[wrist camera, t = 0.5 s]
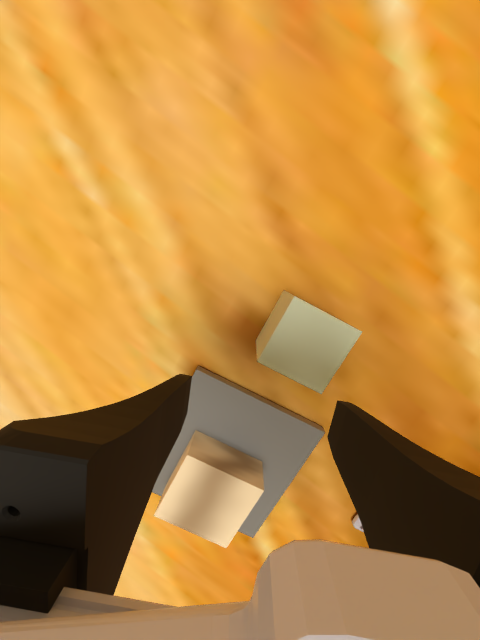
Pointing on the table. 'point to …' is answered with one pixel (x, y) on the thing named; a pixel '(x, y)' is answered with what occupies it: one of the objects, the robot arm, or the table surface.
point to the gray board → (246, 437)
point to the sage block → (304, 342)
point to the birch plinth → (211, 490)
